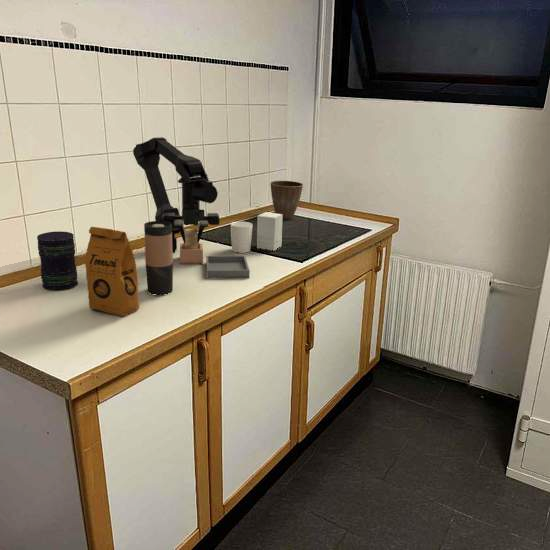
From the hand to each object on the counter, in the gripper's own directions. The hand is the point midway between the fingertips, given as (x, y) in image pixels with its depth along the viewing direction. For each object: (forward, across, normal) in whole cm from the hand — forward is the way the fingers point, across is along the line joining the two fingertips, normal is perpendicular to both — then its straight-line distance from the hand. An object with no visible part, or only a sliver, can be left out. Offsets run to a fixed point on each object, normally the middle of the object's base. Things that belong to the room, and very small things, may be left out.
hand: (191, 243), depth 181 cm
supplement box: (+6, +29, +16) cm, 33 cm away
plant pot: (+6, +43, +64) cm, 77 cm away
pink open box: (+6, 0, 0) cm, 6 cm away
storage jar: (+6, -38, -22) cm, 45 cm away
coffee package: (+6, -20, -42) cm, 46 cm away
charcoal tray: (+6, +12, -10) cm, 17 cm away
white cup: (+6, +18, +12) cm, 22 cm away
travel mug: (+6, -9, -28) cm, 31 cm away
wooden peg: (+5, 0, 0) cm, 5 cm away
